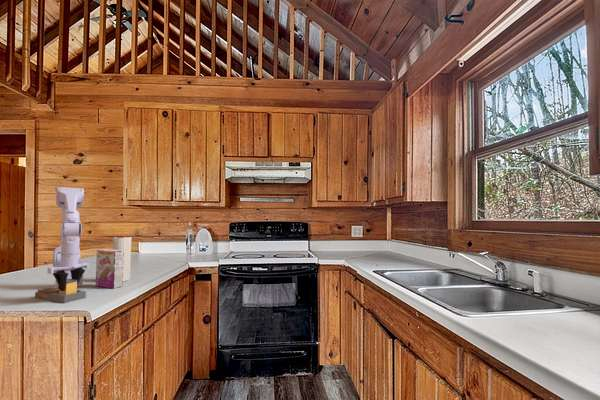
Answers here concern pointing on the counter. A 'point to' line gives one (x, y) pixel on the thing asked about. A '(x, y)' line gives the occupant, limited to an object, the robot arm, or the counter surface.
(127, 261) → the paper towel roll
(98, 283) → the candy bar box
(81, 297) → the lower socket
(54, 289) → the upper socket
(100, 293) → the counter surface
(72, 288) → the plug
